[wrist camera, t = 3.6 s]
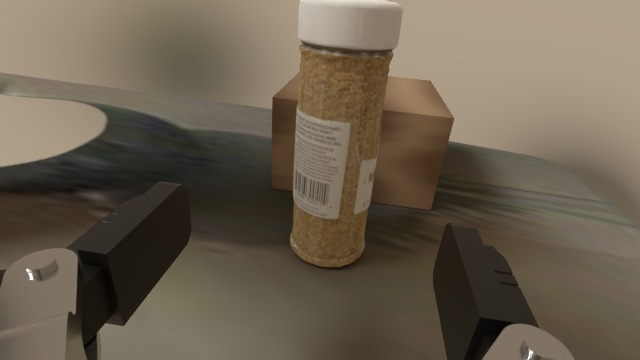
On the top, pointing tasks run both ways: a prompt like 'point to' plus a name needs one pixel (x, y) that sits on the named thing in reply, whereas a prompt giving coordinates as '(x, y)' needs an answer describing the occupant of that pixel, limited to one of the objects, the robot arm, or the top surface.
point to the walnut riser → (381, 142)
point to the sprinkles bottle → (339, 123)
